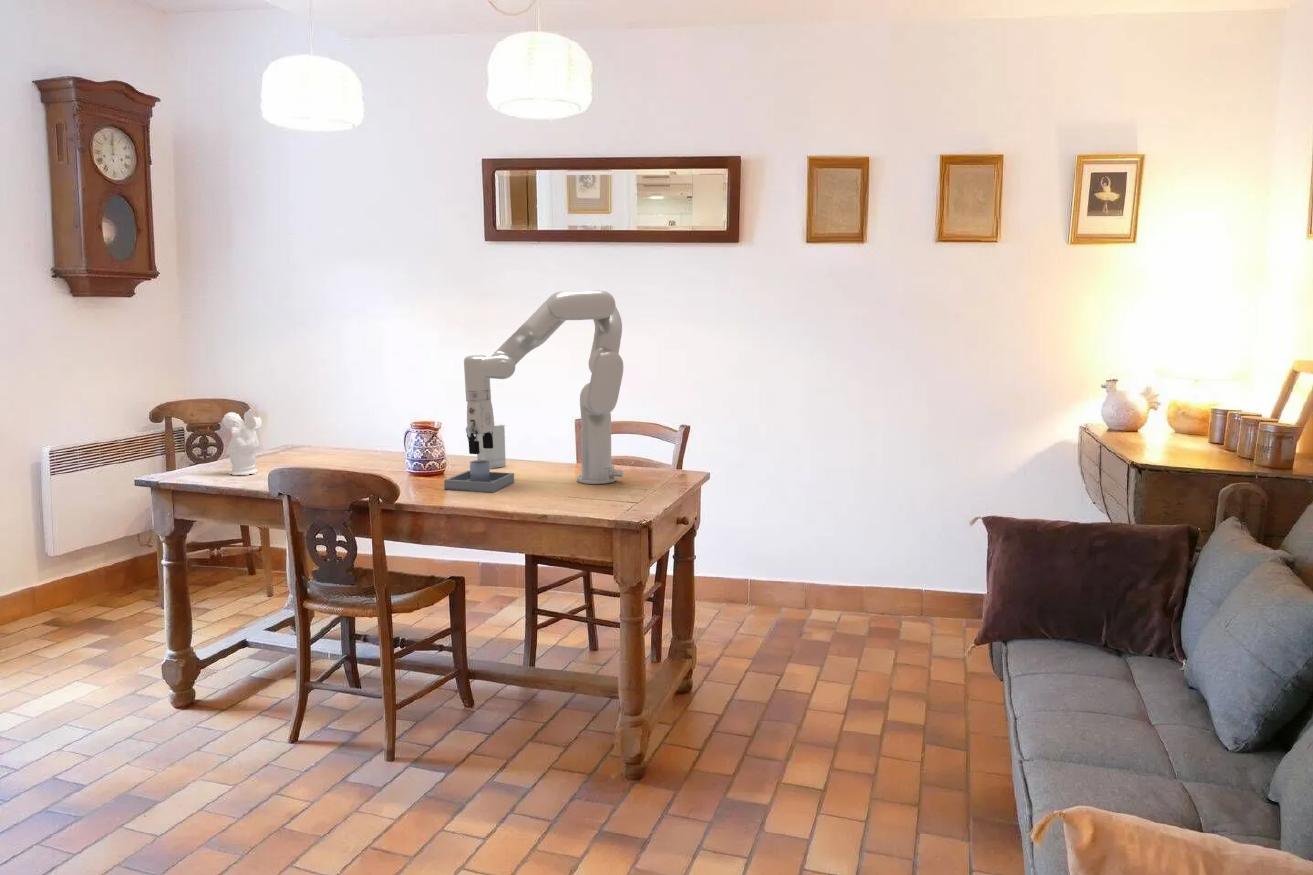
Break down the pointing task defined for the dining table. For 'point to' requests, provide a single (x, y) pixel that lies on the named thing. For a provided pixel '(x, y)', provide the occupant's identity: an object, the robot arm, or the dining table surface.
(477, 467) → the cup
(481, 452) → the skincare box
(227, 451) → the cherub figurine
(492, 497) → the dining table surface
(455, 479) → the tray
